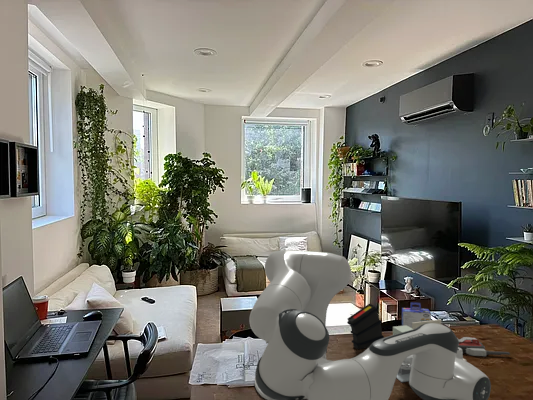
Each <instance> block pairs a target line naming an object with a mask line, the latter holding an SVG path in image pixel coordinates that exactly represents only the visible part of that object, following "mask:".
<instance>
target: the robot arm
mask: <svg viewBox="0 0 533 400" xmlns="http://www.w3.org/2000/svg"><path fill="white" fill-rule="evenodd" d="M264 273H265V276H266V277H267V280H268V281H269V284H268V285H267V286H266V287H265V288H264V289H263V291H262V292H261V293H260V295H259V296H258V298H257V300H256V301H255V302H254V305H253V307H252V308H251V311H250V312H249V313H250V314H249V319H248V321H249V323H248V324H249V326H250V328H251V331H252V332H253V333H254V335H255V336H256V337H257V338H259V339H261V340H263V341H265V344H266V346H265V348H264V351H263V353H262V356H261V357H260V358H259V359H258V362H257V365H256V369H255V375H254V376H255V377H254V381H255V383H254V387H255V390H256V391H257V393H258V394H259V395H260V396H261V398H262V399H263V398H264V399H265V400H389V399H390V396H391V394H392V393H393V389H394V385H395V382H396V381H397V378H396V377H397V374H398V371H399V369H400V368H401V369H404V370H411V371H410V378H409V381H408V385H409V387H410V388H411V389H412V391H413V392H414V393H415V395H417V396H418V397H419V398H420V399H422V400H489V398H490V394H491V389H492V383H491V380H490V378H489V376H487V375H486V374H485V372H483V371H482V370H480V369H479V368H478V367H476V366H475V365H473V364H471V363H470V362H468V361H467V360H466V359H465V360H466V361H465V360H463V359H464V357H463V356H464V355H463V354H464V353H463V352H462V349H461V348H459V347H458V346H459V341H458V339H459V338H458V337H457V336H456V334H455V332H454V331H453V330H452V329H451V328H450V327H448V326H447V325H443V324H441V325H440V324H436V323H425V324H422V325H420V326H419V327H417V328H415V329H413V330H409V331H406V332H402V333H399V334H395V335H393V334H392V335H389V336H385V337H384V338H382V339H379V340H376V341H374V342H373V343H372V344H371V345H370V346H369V348H366V349H365V350H364V351H363V352H361V353H359V354H358V355H356V356H354V357H351V358H343V359H337V360H331V359H327V353H328V346H329V343H330V333H329V330H328V329H327V327H326V325H327V323H326V322H327V321H326V320H327V312H328V307H329V305H330V303H331V301H332V299H333V298H334V297H335V296H336V295H338V294H339V293H340V292H341V291H343V290H344V289H345V288H346V287H347V285H349V283H350V280H351V276H352V269H351V266H350V263H349V262H348V260H347V259H346V257H345V256H343V255H339V254H336V253H332V252H326V251H324V252H323V251H312V250H311V251H309V250H297V249H296V250H295V249H284V250H283V249H282V250H274V251H271V253H270V254H269V255H268V257H267V258H266V259H265V262H264ZM457 338H458V339H457Z"/></svg>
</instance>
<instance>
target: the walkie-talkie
mask: <svg viewBox="0 0 533 400" xmlns="http://www.w3.org/2000/svg"><path fill="white" fill-rule="evenodd" d="M457 339H458V341H459V346H458V347H459V348H461V349H462V352H463V354H467V355H468V356H474V357H487V356H489V355H494V356H501V355H511V353H510V352H509V351H497V350H496V351H494V350H493V351H492V350H487V349H486V347H485V346H484V344H483V343H482V342H481V341H479V339H477V338H476V337H471V336H470V337H469V336H463V337H462V338H458V337H457Z"/></svg>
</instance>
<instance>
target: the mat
mask: <svg viewBox="0 0 533 400" xmlns="http://www.w3.org/2000/svg"><path fill="white" fill-rule="evenodd" d="M409 378H410V373H409V374H401V373H399V372H398V374H397V377H396V380H398V381H400V383H406V382H409Z"/></svg>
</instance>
